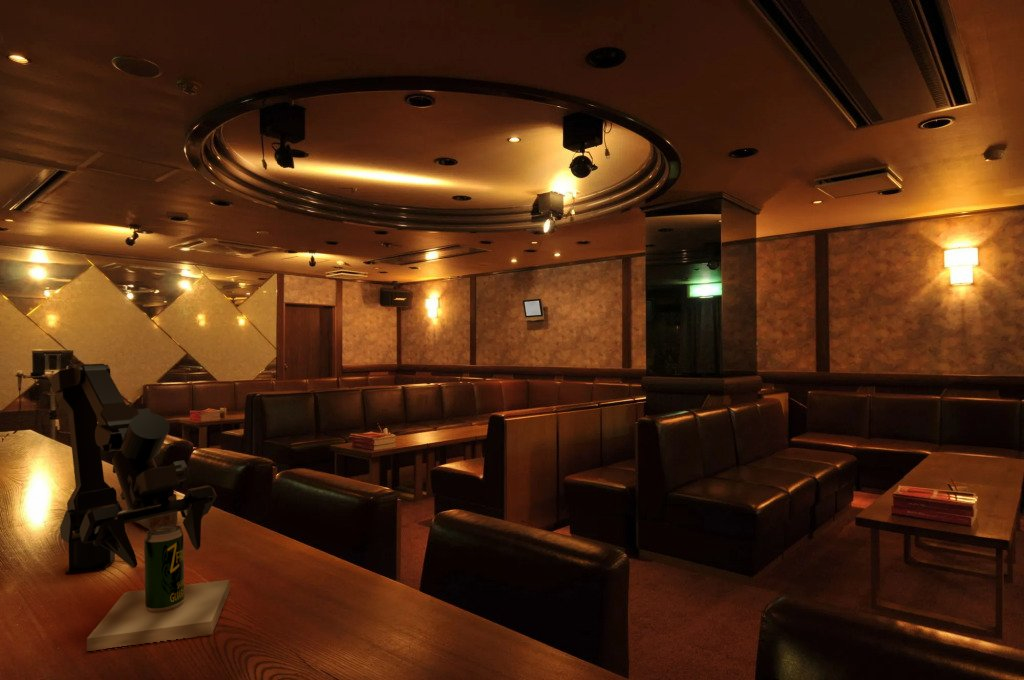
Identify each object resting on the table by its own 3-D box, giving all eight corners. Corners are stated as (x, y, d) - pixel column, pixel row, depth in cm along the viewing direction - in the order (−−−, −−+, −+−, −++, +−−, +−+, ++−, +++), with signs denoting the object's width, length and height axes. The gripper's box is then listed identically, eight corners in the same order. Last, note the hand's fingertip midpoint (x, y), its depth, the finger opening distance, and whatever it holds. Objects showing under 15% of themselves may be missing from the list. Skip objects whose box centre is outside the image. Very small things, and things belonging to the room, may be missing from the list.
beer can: (138, 614, 91) (136, 536, 91) (156, 598, 96) (155, 525, 96) (174, 612, 91) (173, 535, 91) (190, 597, 97) (189, 524, 97)
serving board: (87, 652, 84) (86, 638, 84) (125, 604, 99) (124, 592, 99) (211, 634, 88) (211, 621, 88) (229, 591, 104) (229, 579, 104)
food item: (126, 522, 144) (125, 482, 144) (162, 514, 150) (161, 476, 150) (147, 534, 135) (146, 491, 135) (184, 525, 141) (183, 484, 141)
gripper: (84, 456, 89) (112, 545, 82) (210, 438, 104) (243, 512, 97) (68, 500, 94) (93, 587, 87) (191, 477, 108) (221, 550, 102)
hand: (168, 557), depth 93 cm, fingers open, 9 cm apart
